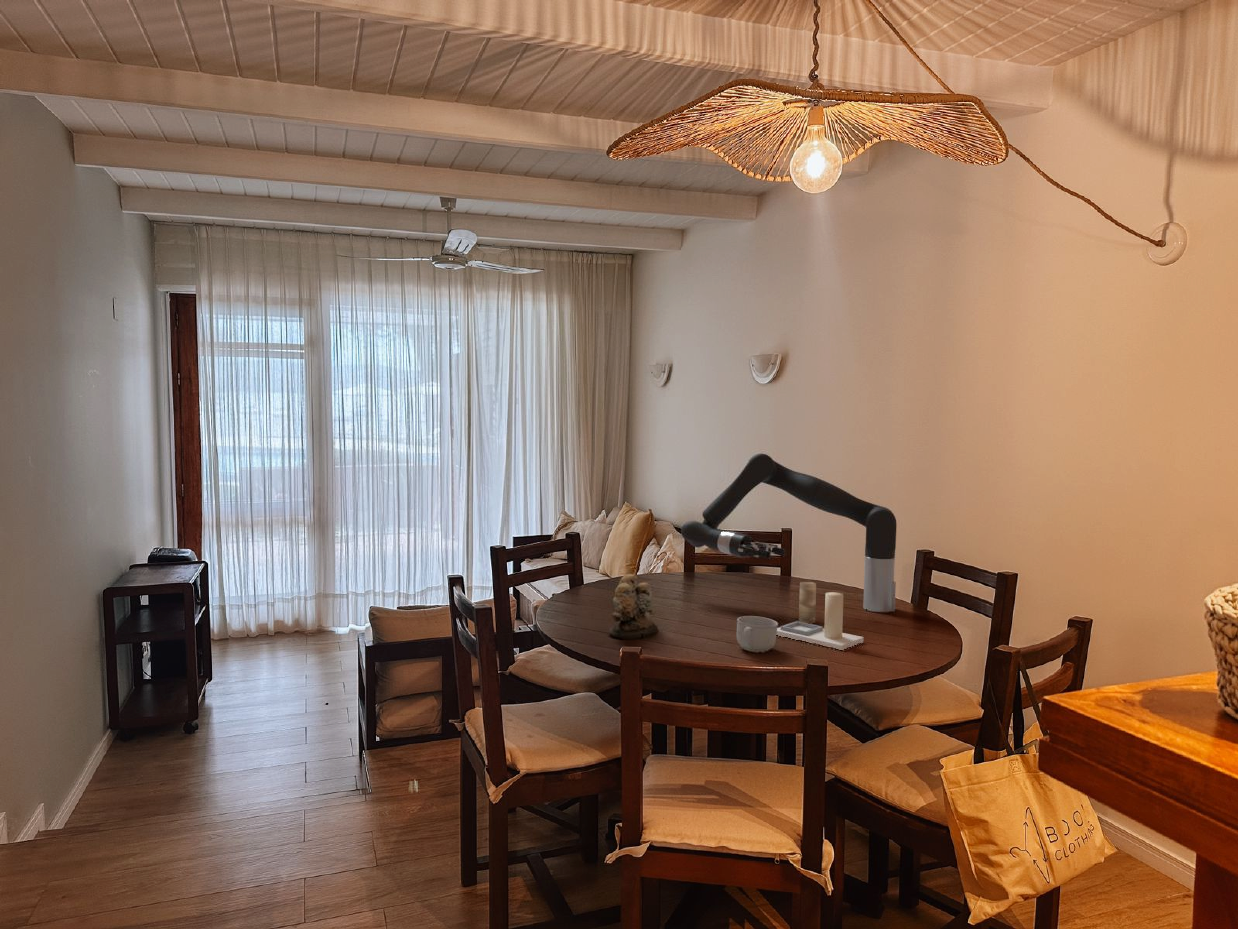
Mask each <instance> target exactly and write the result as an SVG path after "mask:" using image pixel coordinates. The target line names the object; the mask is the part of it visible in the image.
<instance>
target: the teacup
mask: <svg viewBox="0 0 1238 929" xmlns="http://www.w3.org/2000/svg"><path fill="white" fill-rule="evenodd" d="M736 623H737V624H736V641H737V643H738V644H739V646H741V647H742V649H743V650H744V651H748V652H751V653H759V652H761V653H766V652H765V651H767V652H768V651H769V650H771V649H773V648H774V647H775V644H776V642H777V636H776V635H777V628H778V626H779V623H778V622H777V621H776V620H774V619H772V618H768V617H763V616H757V615H756V616H755V615H743V616H740V617H737V618H736Z"/></svg>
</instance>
